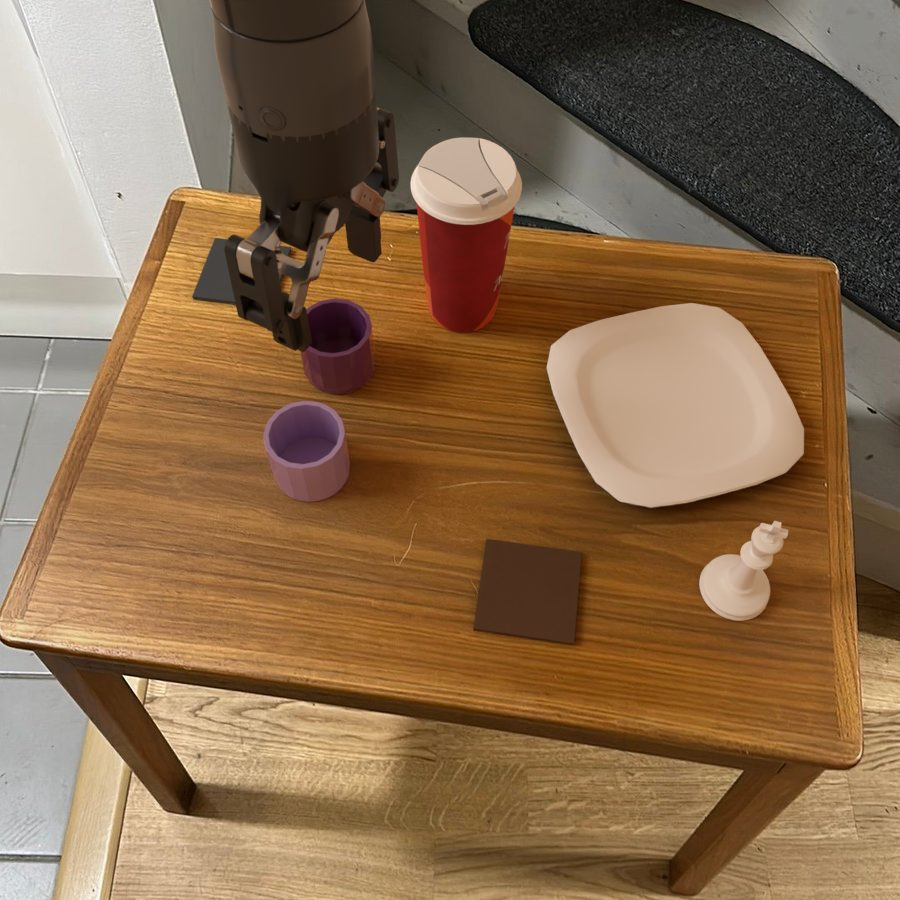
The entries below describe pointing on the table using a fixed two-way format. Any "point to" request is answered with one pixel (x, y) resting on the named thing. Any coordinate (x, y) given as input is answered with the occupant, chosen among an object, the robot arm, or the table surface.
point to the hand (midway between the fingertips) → (331, 298)
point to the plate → (673, 405)
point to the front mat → (528, 592)
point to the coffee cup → (464, 228)
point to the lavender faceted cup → (307, 450)
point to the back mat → (219, 275)
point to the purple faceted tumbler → (339, 346)
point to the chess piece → (742, 575)
